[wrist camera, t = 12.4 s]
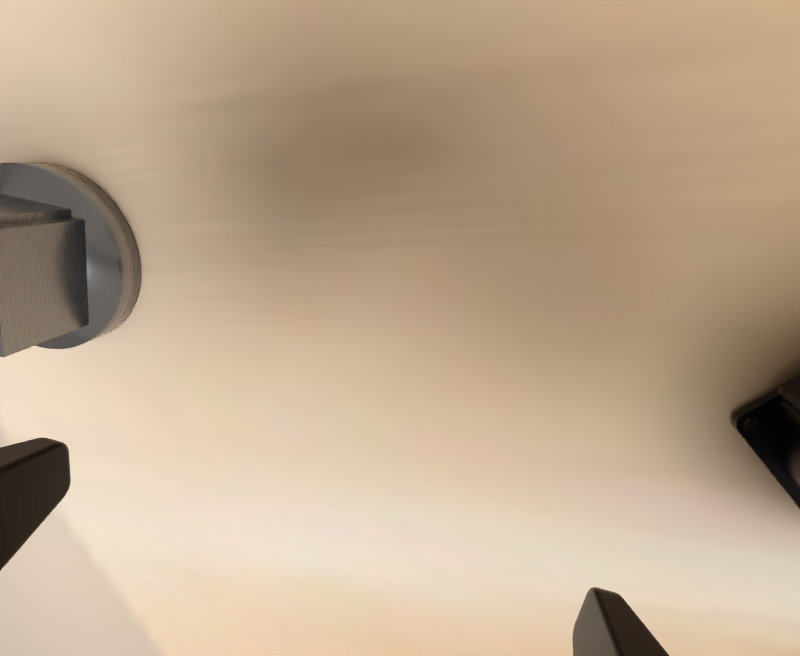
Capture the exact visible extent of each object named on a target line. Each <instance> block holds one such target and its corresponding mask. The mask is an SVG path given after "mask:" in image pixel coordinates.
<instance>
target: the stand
mask: <svg viewBox="0 0 800 656" xmlns="http://www.w3.org/2000/svg"><path fill="white" fill-rule="evenodd" d="M140 281H141V267H140V258H139V253H138V249H137V245H136V242H135V239H134V236H133V234H132V231H131V229H130V227H129V225H128V223H127V221H126V219H125V218H124V216H123V214H122V213H121V211H120V210H119V209H118V207H117V206H116V204H115V203H114V202H113V201H112V200H111V198H110V197H109V196H108V195H107V194H106V193H105V192H104V191H103V190H102V189H101V188H100V187H98V186H97V185H96V184H95V183H93V182H92V181H91V180H89V179H88V178H86V177H84V176H83V175H81V174H79V173H78V172H75V171H73V170H71V169H68V168H66V167H62V166H59V165H54V164H46V163H1V164H0V357H6V356H8V355H11V354H14V353H16V352H19V351H21V350H24V349H27V348H29V347H32V346H34V345H35V346H38V347H44V348H49V349H64V348H71V347H75V346H78V345H81V344H83V343H85V342H88V341H90V340H92V339H95V338H97V337H99V336H102V335H104V334H106V333H109V332H111V331H112V330H114V329H115V328H117V327H118V326H119V325H120V324H122V323H123V322H124V321H125V319H126V318H127V317H128V316H129V314H130V313H131V311H132V309H133V307H134V305H135V303H136V300H137V297H138V294H139V289H140Z"/></svg>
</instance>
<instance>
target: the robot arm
mask: <svg viewBox="0 0 800 656" xmlns="http://www.w3.org/2000/svg"><path fill="white" fill-rule="evenodd" d="M750 418H752V419H753V421H752V422H751V423H750V424H749V425H743V424H744V422H745V421H746V420H747V419H750ZM732 424H733V426H734V428H735V429H736V430H737V431H738V433H739V434H740V435H741V436H742V438H743V439H744V440H745V441H746V443H747V444H748V445H749V446H750V448H751V449H752V450H753V451H754V453H755V454H756V455H757V456H758V458H759V459H760V460H761V461H762V463H763V464H764V465H765V466H766V468H767V469H768V470H769V471H770V473H771V474H772V475H773V476H774V478H775V479H776V480H777V481H778V483H779V484H780V485H781V486H782V488H783V489H784V490H785V491H786V493H787V494H788V495H789V496H790V498H791V499H792V500H793V501H794V503H795V504H796V505H797V506H798V508H799V509H800V374H799V375H797V376H795V377H794V378H792V379H790V380H788V381H786V382H785V383H783V384H781V386H780V387H779V388H777V389H775V390H773V391H771V392H770V393H768V394H766V395H764V396H763V397H761V398H759V399H757V400H755V401H754V402H752V403H750V404H748V405H747V406H745V407H743V408H741V409H739V410H738V411H737V412H735V413H734V415H733V416H732ZM70 481H71V479H70V463H69V450H68V447H67V446H66V444H64V443H62V442H59V441H56V440H52V439H48V438H37V439H33V440H29V441H25V442H21V443H17V444H13V445H9V446H5V447H1V448H0V570H1V569H2V568H3V567H4V566H5V565H6V564H7V563H8V561H9V560H10V559H11V558H12V557H13V556H14V554H15V553H16V552H17V551H18V550H19V549H20V548H21V546H22V545H23V544H24V543H25V542H26V541H27V539H28V538H29V537H30V536H31V535H32V533H33V532H34V531H35V530H36V529H37V528H38V527H39V526H40V524H41V523H42V522H43V521H44V520H45V519H46V517H47V516H48V515H49V514H50V513H51V512H52V510H53V509H54V508H55V507H56V506H57V505H58V503H59V502H60V501H61V500H62V499H63V498H64V496H65V495H66V493H67V491H68V489H69V487H70ZM573 656H669V655H668V653H667V652H666V651H665V650H664V649H663V647H662V646H661V645H660V644H659V642H658V641H657V640H656V639H655V637H654V636H653V635H652V634H651V632H650V631H649V630H648V629H647V627H646V626H645V625H644V624H643V622H642V621H641V620H640V619H639V617H638V616H637V615H636V614H635V613H634V611H633V610H632V609H631V608H630V606H629V605H628V604H627V603H626V601H625V600H624V599H623V598H622V597H621V596H620V595H619V594H617V593H615V592H611V591H608V590H604V589H600V588H597V587H594V588H591V589H590V590H589V591H588V593H587V595H586V597H585V600H584V602H583V605H582V607H581V610H580V612H579V615H578V617H577V620H576V622H575V625H574V630H573Z"/></svg>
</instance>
